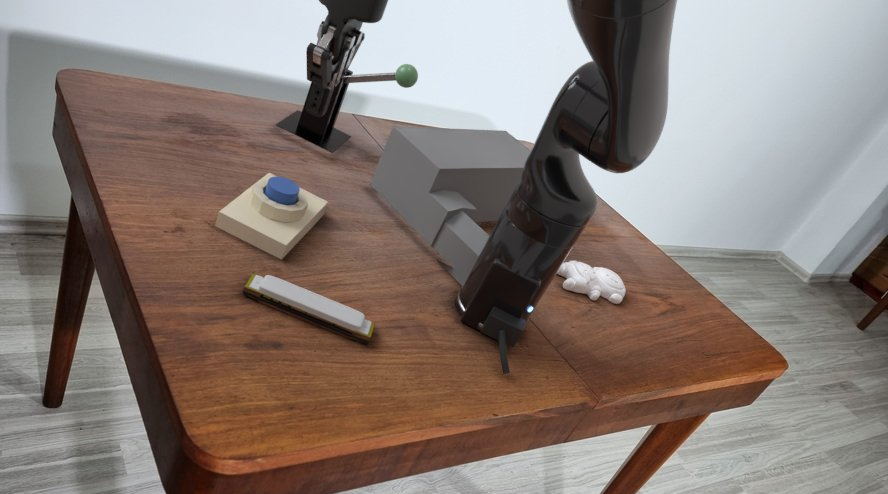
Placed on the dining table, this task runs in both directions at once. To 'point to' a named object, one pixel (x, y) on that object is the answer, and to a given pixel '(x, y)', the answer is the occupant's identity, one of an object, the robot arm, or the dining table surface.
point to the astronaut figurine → (592, 281)
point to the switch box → (270, 218)
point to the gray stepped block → (450, 186)
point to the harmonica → (309, 307)
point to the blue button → (282, 190)
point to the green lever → (388, 76)
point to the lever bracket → (319, 121)
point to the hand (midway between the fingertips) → (314, 113)
